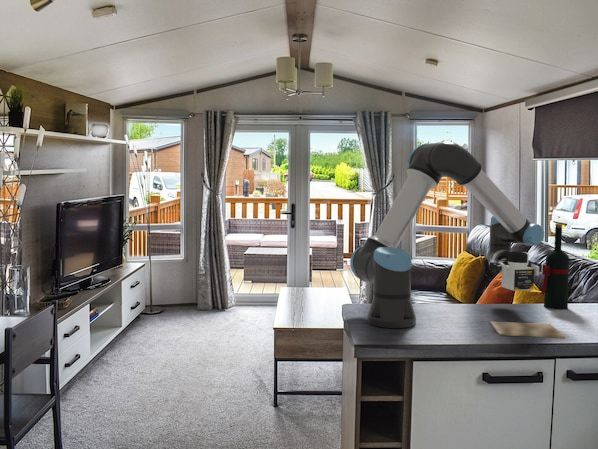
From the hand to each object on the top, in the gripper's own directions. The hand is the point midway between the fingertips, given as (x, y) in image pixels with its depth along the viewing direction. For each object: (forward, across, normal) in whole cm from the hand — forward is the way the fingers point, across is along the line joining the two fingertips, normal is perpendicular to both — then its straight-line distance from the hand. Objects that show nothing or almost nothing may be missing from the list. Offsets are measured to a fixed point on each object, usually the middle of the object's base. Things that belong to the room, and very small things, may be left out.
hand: (521, 270), depth 177 cm
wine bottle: (-28, -18, -17) cm, 37 cm away
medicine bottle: (-5, 0, -7) cm, 8 cm away
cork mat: (+7, 0, -17) cm, 19 cm away
